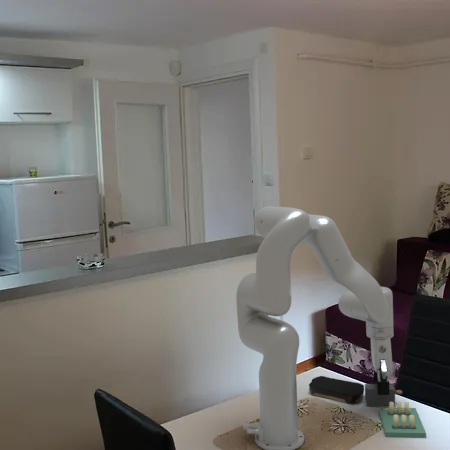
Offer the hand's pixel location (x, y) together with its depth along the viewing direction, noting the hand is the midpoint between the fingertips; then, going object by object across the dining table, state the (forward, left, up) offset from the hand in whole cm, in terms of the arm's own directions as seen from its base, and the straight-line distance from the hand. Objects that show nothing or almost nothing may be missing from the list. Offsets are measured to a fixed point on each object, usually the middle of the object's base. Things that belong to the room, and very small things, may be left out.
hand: (381, 387), depth 173 cm
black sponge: (-13, +5, -5) cm, 15 cm away
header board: (+4, -13, -5) cm, 15 cm away
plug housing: (+1, 0, -5) cm, 5 cm away
